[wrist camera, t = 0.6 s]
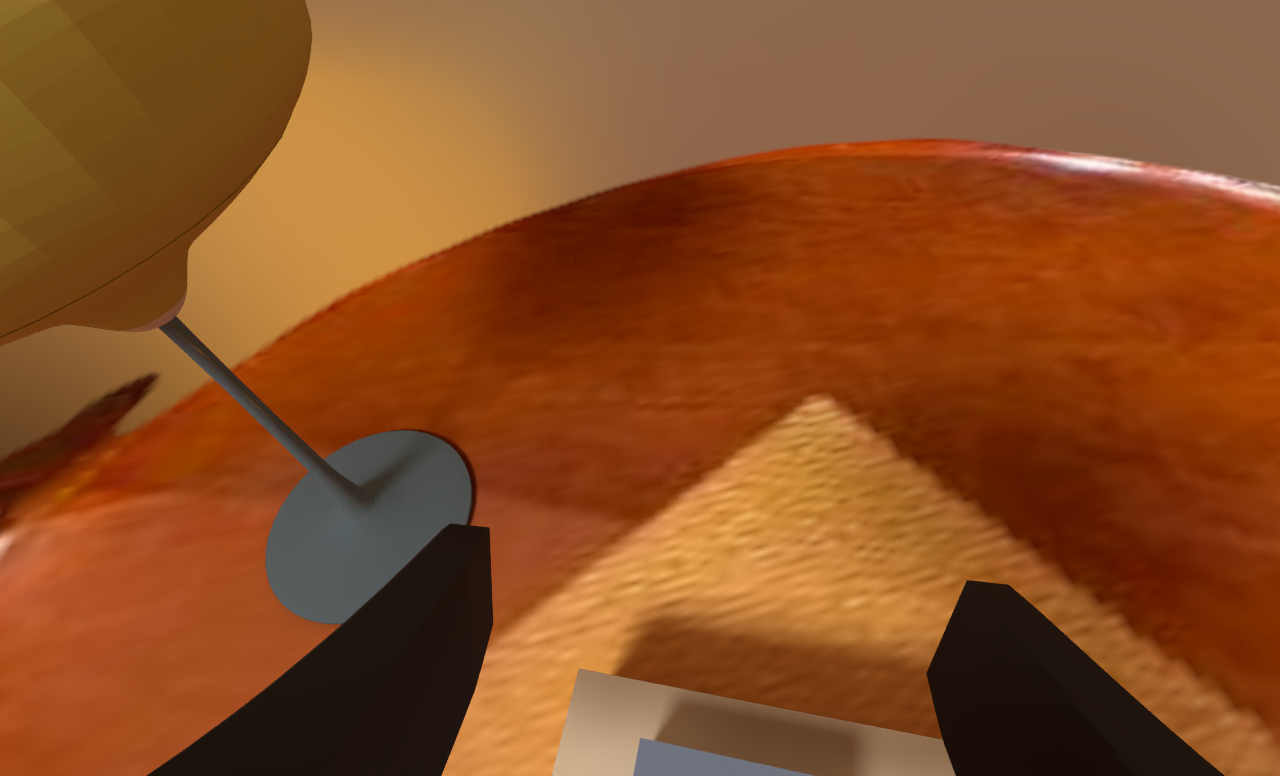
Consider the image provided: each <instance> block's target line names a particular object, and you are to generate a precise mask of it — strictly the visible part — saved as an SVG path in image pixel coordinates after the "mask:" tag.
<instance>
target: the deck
mask: <svg viewBox="0 0 1280 776" xmlns="http://www.w3.org/2000/svg"><path fill="white" fill-rule="evenodd" d="M640 738H645V739H649V740H654V741H658V742H663V743H667V744H672V745H677V746H681V747H686V748H690V749H695V750H699V751H704V752H709V753H713V754H718V755H722V756H727V757H732V758H736V759H741V760H745V761H750V762H754V763H759V764H764V765H768V766H773V767H777V768H782V769H787V770H791V771H796V772H800V773H805V774H809V775H814V776H956V775H955V773H954V770H953V767H952V765H951V762H950V759H949V756H948V753H947V751H946V748H945V745H944V742H943V740H942V739H937V738H932V737H927V736H921V735H916V734H911V733H906V732H901V731H896V730H891V729H886V728H881V727H875V726H870V725H865V724H860V723H855V722H850V721H845V720H840V719H834V718H829V717H824V716H819V715H814V714H809V713H804V712H799V711H794V710H788V709H783V708H778V707H773V706H768V705H763V704H758V703H753V702H748V701H742V700H737V699H732V698H727V697H722V696H717V695H712V694H707V693H702V692H696V691H691V690H686V689H681V688H676V687H671V686H666V685H661V684H655V683H650V682H645V681H640V680H635V679H630V678H625V677H620V676H615V675H609V674H604V673H599V672H594V671H589V670H584V669H579V670H578V674H577V678H576V682H575V686H574V690H573V694H572V698H571V702H570V706H569V710H568V714H567V718H566V722H565V726H564V729H563V733H562V737H561V741H560V745H559V749H558V753H557V757H556V761H555V765H554V769H553V773H552V776H633V773H634V768H635V763H636V757H637V752H638V747H639V741H640Z"/></svg>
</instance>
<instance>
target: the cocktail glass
mask: <svg viewBox="0 0 1280 776" xmlns="http://www.w3.org/2000/svg"><path fill="white" fill-rule="evenodd" d="M311 42H312V31H311V21H310V17H309V14H308V10H307V6H306V3H305V0H0V346H2V345H4V344H7V343H10V342H13V341H16V340H18V339H21V338H24V337H27V336H29V335H32V334H34V333H37V332H40V331H42V330H45V329H48V328H51V327H55V326H60V325H66V324H67V325H78V326H87V327H93V328H100V329H106V330H114V331H126V332H140V331H148V330H152V329H155V328H159V329H161V330H162V331H163V332H164V333H165V334H166V335H167V336H168V337H169V338H171V340H172V341H174V342H175V343H176V344H177V345H178V346H179V347H180V348H181V349H182V350H183V351H184V352H185V353H187V354H188V355H189V356H190V357H191V358H192V359H193V360H194V361H195V362H196V363H197V364H198V365H199V366H200V367H202V368H203V369H204V370H205V371H206V372H207V373H208V374H209V375H210V376H211V377H212V378H213V379H214V380H215V381H216V382H217V383H219V384H220V385H221V386H222V387H223V388H224V389H225V390H226V391H227V392H228V393H229V394H230V395H231V396H232V397H233V398H234V399H235V400H236V401H238V402H239V403H240V404H241V405H242V406H243V407H244V408H245V409H246V410H247V411H248V412H249V413H250V414H251V415H252V416H253V417H254V418H255V419H256V420H257V421H258V422H259V423H261V424H262V425H263V426H264V427H265V428H266V429H267V430H268V431H269V432H270V433H271V434H272V435H273V436H274V437H275V438H276V439H277V440H278V441H279V442H280V443H281V444H282V445H283V446H284V447H285V448H286V449H287V450H288V451H289V452H290V453H291V454H292V455H293V456H294V457H295V458H296V459H297V460H298V461H299V462H300V463H301V464H302V465H303V466H304V467H305V468H307V469H308V471H309V473H308V474H307V475H306V476H304V477H303V478H302V480H301V481H300V482H299V483H298V484H297V485H296V487H295V488H294V489H293V490H292V491H291V493H290V494H289V496H288V497H287V499H286V500H285V502H284V503H283V505H282V506H281V508H280V510H279V512H278V514H277V516H276V518H275V520H274V522H273V525H272V528H271V531H270V534H269V537H268V543H267V548H266V570H267V576H268V580H269V583H270V585H271V587H272V590H273V592H274V594H275V595H276V596H277V598H278V599H279V601H280V602H281V603H282V604H283V605H284V606H285V607H286V608H288V609H289V610H290V611H291V612H293V613H294V614H297V615H299V616H301V617H303V618H305V619H307V620H310V621H315V622H320V623H324V624H343V623H344V622H345V621H346V620H347V619H348V618H350V617H351V616H352V615H353V614H354V613H355V612H356V611H357V610H358V609H359V608H361V607H362V606H363V605H364V604H365V603H366V602H367V601H368V600H369V599H370V598H371V597H373V596H374V595H375V594H376V593H377V592H378V591H379V590H380V589H381V588H382V587H383V586H384V585H386V584H387V583H388V582H389V581H390V580H391V579H392V578H393V577H394V576H395V575H396V574H397V573H398V572H399V571H400V570H401V569H402V568H403V567H404V566H405V565H406V564H407V563H408V562H409V561H411V560H412V559H413V558H414V557H415V556H416V555H417V554H418V553H419V552H420V551H421V550H422V549H423V548H424V547H425V546H426V545H427V544H428V543H429V542H430V541H431V540H432V539H433V538H434V537H435V536H436V535H437V534H438V533H439V532H440V531H441V530H442V529H443V528H444V527H446V526H447V525H448V524H450V523H452V524H461V525H468V522H469V518H470V513H471V508H472V493H473V491H472V484H471V478H470V475H469V472H468V469H467V467H466V464H465V463H464V461H463V460H462V458H461V456H460V455H459V454H458V453H457V452H456V451H455V450H454V448H453V447H452V446H450V445H449V444H447V443H446V442H444V441H443V440H441V439H440V438H437V437H435V436H432V435H430V434H427V433H422V432H417V431H404V430H399V431H389V432H383V433H379V434H375V435H371V436H368V437H365V438H362V439H360V440H357V441H355V442H353V443H351V444H349V445H346V446H344V447H342V448H341V449H339V450H338V451H336V452H334V453H333V454H331V455H329V456H328V457H327V458H325V459H324V460H323V459H322V458H321V457H320V456H319V455H318V454H317V453H316V452H315V451H313V450H312V449H311V448H310V447H309V446H308V445H307V444H306V443H305V442H304V441H303V440H302V439H301V438H300V437H299V436H298V435H297V434H296V433H294V432H293V431H292V430H291V429H290V428H289V427H288V426H287V425H286V424H285V423H284V422H283V421H282V420H281V419H280V418H279V417H278V416H277V415H276V414H275V413H273V412H272V411H271V410H270V409H269V408H268V407H267V406H266V405H265V404H264V403H263V402H262V401H261V400H260V399H259V398H258V397H257V396H256V395H255V394H254V393H253V392H252V391H251V390H250V389H249V388H248V387H247V386H246V385H245V384H244V383H243V382H242V381H241V380H239V379H238V378H237V377H236V376H235V375H234V374H233V373H232V372H231V371H230V370H229V369H228V368H227V367H226V366H225V365H224V364H223V363H222V362H221V361H220V360H219V359H218V358H217V357H216V356H215V355H214V354H213V353H212V352H211V351H210V350H209V349H208V348H207V347H206V346H205V345H204V344H203V343H202V342H201V341H200V340H199V339H198V338H197V337H196V336H195V335H194V334H193V333H192V332H191V331H190V330H189V329H188V328H187V327H186V326H185V325H184V324H183V323H182V322H181V321H180V320H179V319H178V318H177V317H176V315H177V314H178V313H179V311H180V310H181V308H182V306H183V304H184V301H185V297H186V292H187V258H188V250H189V247H190V246H191V244H192V243H193V241H194V240H195V239H196V238H197V237H198V236H199V235H200V234H201V233H202V232H203V231H204V230H205V229H207V227H208V226H209V225H211V224H212V222H214V221H215V220H216V219H217V217H218V216H219V215H220V214H221V213H222V212H223V211H224V210H225V209H226V208H227V207H228V206H229V205H230V204H231V203H232V202H233V200H234V199H235V198H236V197H237V196H238V195H239V193H240V192H241V191H242V190H243V189H244V187H245V186H246V185H247V184H248V183H249V182H250V181H251V179H252V178H253V176H254V175H255V174H256V172H257V171H258V169H259V168H260V167H261V165H262V164H263V163H264V161H265V160H266V158H267V157H268V155H269V154H270V153H271V151H272V150H273V148H274V147H275V146H276V144H277V143H278V142H279V140H280V139H281V137H282V135H283V133H284V131H285V129H286V126H287V124H288V122H289V120H290V117H291V114H292V112H293V109H294V107H295V105H296V103H297V101H298V99H299V96H300V93H301V91H302V87H303V84H304V81H305V78H306V75H307V70H308V65H309V60H310V52H311Z"/></svg>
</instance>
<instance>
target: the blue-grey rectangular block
mask: <svg viewBox="0 0 1280 776" xmlns="http://www.w3.org/2000/svg"><path fill="white" fill-rule="evenodd" d="M633 776H814V775H809V774H805V773H800V772H796V771H791V770H787V769H782V768H777V767H773V766H768V765H764V764H759V763H754V762H750V761H745V760H741V759H736V758H732V757H727V756H722V755H718V754H713V753H709V752H704V751H699V750H695V749H690V748H686V747H681V746H677V745H672V744H667V743H663V742H658V741H654V740H649V739H645V738H640V741H639V747H638V752H637V757H636V763H635V768H634V773H633Z"/></svg>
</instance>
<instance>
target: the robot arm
mask: <svg viewBox="0 0 1280 776" xmlns="http://www.w3.org/2000/svg"><path fill="white" fill-rule="evenodd" d="M492 626H493V606H492V581H491V556H490V531H489V528H488V527H479V526H470V525H461V524H452V523H450V524H448V525H447V526H446V527H444V528H443V529H442V530H441V531H440V532H439V533H438V534H437V535H436V536H435V537H434V538H433V539H432V540H431V541H430V542H429V543H428V544H427V545H426V546H425V547H424V548H423V549H422V550H421V551H420V552H419V553H418V554H417V555H416V556H415V557H414V558H413V559H412V560H411V561H409V562H408V563H407V564H406V565H405V566H404V567H403V568H402V569H401V570H400V571H399V572H398V573H397V574H396V575H395V576H394V577H393V578H392V579H391V580H390V581H389V582H388V583H387V584H386V585H384V586H383V587H382V588H381V589H380V590H379V591H378V592H377V593H376V594H375V595H374V596H373V597H371V598H370V599H369V600H368V601H367V602H366V603H365V604H364V605H363V606H362V607H361V608H359V609H358V610H357V611H356V612H355V613H354V614H353V615H352V616H351V617H350V618H348V619H347V620H346V621H345V622H344V623H343V624H342V625H341V626H340V627H339V628H337V629H336V630H335V631H334V632H333V633H332V634H331V635H329V636H328V637H327V638H326V639H325V640H324V641H322V642H321V643H320V644H319V645H318V646H316V647H315V648H314V649H313V650H312V651H310V652H309V653H308V654H307V655H306V656H304V657H303V658H302V659H301V660H300V661H298V662H297V663H296V664H295V665H294V666H292V667H291V668H290V669H289V670H288V671H286V672H285V673H284V674H283V675H282V676H281V677H279V678H278V679H277V680H276V681H274V682H273V683H272V684H271V685H269V686H268V687H267V688H266V689H264V690H263V691H262V692H261V693H259V694H258V695H257V696H255V697H254V698H253V699H252V700H250V701H249V702H248V703H247V704H245V705H244V706H243V707H241V708H240V709H239V710H237V711H236V712H235V713H233V714H232V715H231V716H229V717H228V718H227V719H225V720H224V721H223V722H221V723H220V724H219V725H217V726H216V727H215V728H213V729H212V730H210V731H209V732H208V733H206V734H205V735H204V736H202V737H201V738H200V739H198V740H197V741H196V742H194V743H193V744H191V745H190V746H189V747H187V748H186V749H184V750H183V751H182V752H180V753H179V754H177V755H176V756H174V757H173V758H171V759H170V760H169V761H167V762H166V763H164V764H163V765H161V766H160V767H158V768H157V769H155V770H154V771H152V772H151V773H150V774H148V775H147V776H441V775H442V773H443V770H444V768H445V765H446V763H447V760H448V758H449V755H450V753H451V750H452V748H453V745H454V743H455V740H456V737H457V735H458V732H459V730H460V727H461V725H462V722H463V720H464V717H465V714H466V712H467V709H468V707H469V704H470V702H471V699H472V696H473V694H474V691H475V688H476V685H477V681H478V678H479V674H480V671H481V667H482V663H483V660H484V656H485V652H486V649H487V645H488V641H489V637H490V634H491V630H492ZM927 677H928V681H929V686H930V690H931V694H932V699H933V703H934V707H935V712H936V715H937V719H938V723H939V727H940V730H941V734H942V738H943V742H944V745H945V748H946V751H947V753H948V756H949V759H950V762H951V765H952V767H953V770H954V773H955V775H956V776H1224V775H1223V774H1222V773H1221V772H1219V771H1218V770H1217V769H1216V768H1215V767H1213V766H1212V765H1211V764H1210V763H1209V762H1207V761H1206V760H1205V759H1204V758H1203V757H1201V756H1200V755H1199V754H1198V753H1197V752H1196V751H1195V750H1193V749H1192V748H1191V747H1190V746H1189V745H1188V744H1186V743H1185V742H1184V741H1183V740H1182V739H1181V738H1179V737H1178V736H1177V735H1176V734H1175V733H1174V732H1173V731H1171V730H1170V729H1169V728H1168V727H1167V726H1166V725H1165V724H1163V723H1162V722H1161V721H1160V720H1159V719H1158V718H1157V717H1155V716H1154V715H1153V714H1152V713H1151V712H1150V711H1149V710H1148V709H1146V708H1145V707H1144V706H1143V705H1142V704H1141V703H1140V702H1139V701H1137V700H1136V699H1135V698H1134V697H1133V696H1132V695H1131V694H1130V693H1129V692H1127V691H1126V690H1125V689H1124V688H1123V687H1122V686H1121V685H1120V684H1119V683H1117V682H1116V681H1115V680H1114V679H1113V678H1112V677H1111V676H1110V675H1109V674H1108V673H1106V672H1105V671H1104V670H1103V669H1102V668H1101V667H1100V666H1099V665H1098V664H1097V663H1095V662H1094V661H1093V660H1092V659H1091V658H1090V657H1089V656H1088V655H1087V654H1086V653H1085V652H1083V651H1082V650H1081V649H1080V648H1079V647H1078V646H1077V645H1076V644H1075V643H1074V642H1072V641H1071V640H1070V639H1069V638H1068V637H1067V636H1066V635H1065V634H1064V633H1063V632H1062V631H1060V630H1059V629H1058V628H1057V627H1056V626H1055V625H1054V624H1053V623H1052V622H1051V621H1049V620H1048V619H1047V618H1046V617H1045V616H1044V615H1043V614H1042V613H1041V612H1039V611H1038V610H1037V609H1036V608H1035V607H1034V606H1033V605H1032V604H1030V603H1029V602H1028V601H1027V600H1026V599H1025V598H1024V597H1022V596H1021V595H1020V594H1019V593H1018V592H1016V591H1015V590H1014V589H1013V588H1012V587H1010V586H1009V585H1005V584H996V583H987V582H978V581H969V580H967V581H966V584H965V586H964V588H963V591H962V593H961V595H960V597H959V600H958V602H957V604H956V607H955V609H954V611H953V613H952V616H951V618H950V620H949V623H948V625H947V627H946V630H945V632H944V634H943V636H942V639H941V641H940V643H939V646H938V648H937V650H936V653H935V655H934V657H933V659H932V662H931V664H930V666H929V669H928V671H927Z"/></svg>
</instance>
